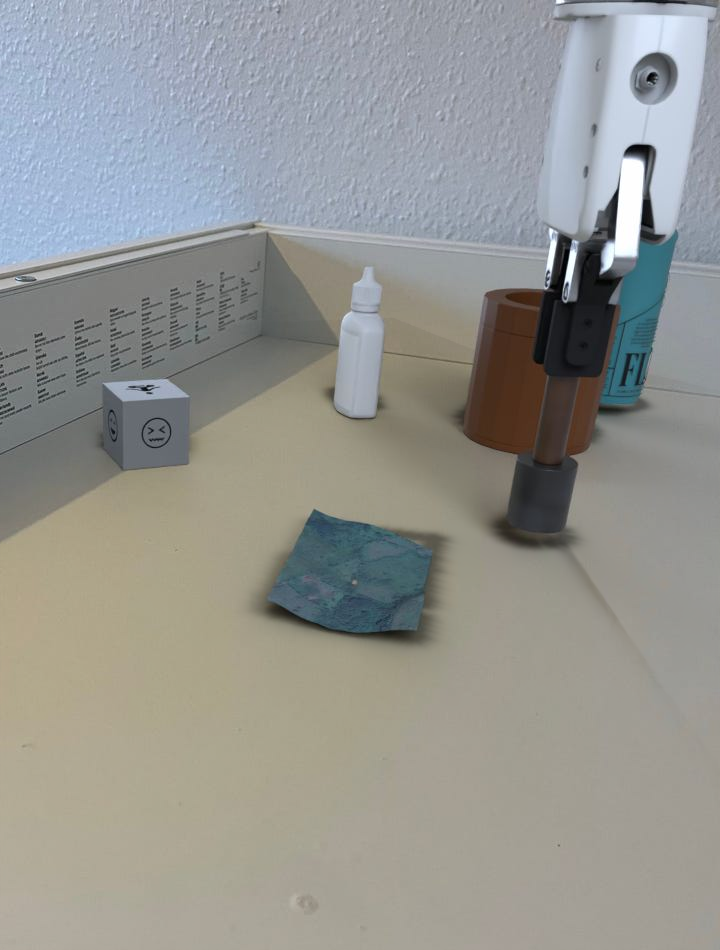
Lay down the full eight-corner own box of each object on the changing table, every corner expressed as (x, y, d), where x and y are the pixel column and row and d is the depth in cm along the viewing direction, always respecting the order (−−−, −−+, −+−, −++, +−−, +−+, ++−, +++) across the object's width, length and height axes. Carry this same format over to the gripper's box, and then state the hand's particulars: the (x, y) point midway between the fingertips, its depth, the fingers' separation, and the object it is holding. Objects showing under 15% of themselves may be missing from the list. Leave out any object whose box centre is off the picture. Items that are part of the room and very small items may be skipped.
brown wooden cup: (569, 421, 88) (597, 292, 82) (606, 459, 78) (640, 317, 73) (453, 415, 87) (473, 285, 82) (475, 453, 78) (500, 309, 73)
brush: (556, 511, 63) (607, 262, 55) (572, 534, 60) (628, 273, 52) (500, 510, 63) (543, 260, 55) (513, 532, 60) (560, 271, 52)
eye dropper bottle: (322, 415, 85) (335, 269, 80) (337, 399, 90) (351, 260, 84) (372, 422, 84) (389, 274, 78) (384, 406, 89) (401, 265, 83)
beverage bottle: (613, 426, 87) (672, 176, 77) (548, 407, 91) (596, 168, 81) (650, 414, 91) (711, 175, 81) (586, 397, 95) (637, 168, 85)
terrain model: (310, 534, 62) (314, 506, 61) (434, 557, 60) (439, 529, 60) (262, 627, 51) (265, 595, 50) (411, 658, 50) (418, 625, 49)
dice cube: (165, 443, 77) (166, 378, 74) (188, 464, 73) (189, 396, 70) (103, 448, 75) (102, 382, 73) (123, 470, 71) (122, 401, 69)
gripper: (793, -27, 41) (681, 412, 50) (658, 0, 54) (589, 340, 64) (612, -34, 41) (533, 407, 50) (522, -5, 54) (473, 336, 64)
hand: (565, 367), depth 57 cm, fingers closed on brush
